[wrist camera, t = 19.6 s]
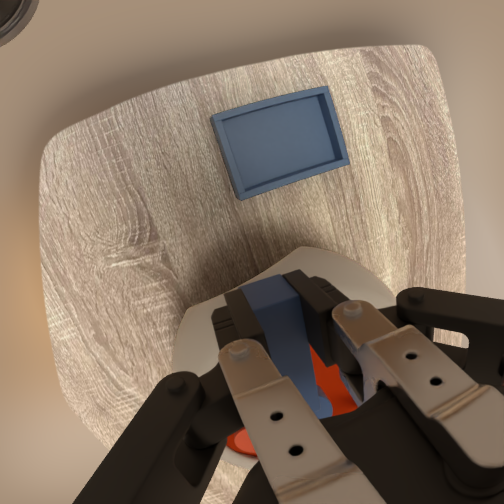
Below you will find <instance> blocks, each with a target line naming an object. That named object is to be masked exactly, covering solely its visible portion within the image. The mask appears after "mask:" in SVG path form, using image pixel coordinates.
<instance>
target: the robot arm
mask: <svg viewBox="0 0 504 504" xmlns="http://www.w3.org/2000/svg"><path fill="white" fill-rule="evenodd" d="M24 3H25V0H0V32H1V31H2V30H4V29H5V28H6V27H7V26H8V25H9V24H10V23H11V22H12V21H13V20H14V19H15V18H16V16H17V15H18V14H19V12H20V11H21V9H22V7H23V5H24ZM282 277H283V278H284V279H285V280H286V281H287V282H288V283H289V284H290V285H291V287H292V288H293V289H294V290H295V291H296V292H297V293H298V294H299V297H300V302H301V307H302V312H303V317H304V322H305V328H306V333H307V338H308V343H309V344H310V345H311V347H312V348H313V349H314V351H315V352H316V354H317V355H318V356H319V358H320V359H321V360H322V362H323V363H324V364H325V366H326V367H327V368H328V367H330V366H333V365H335V364H337V365H338V367H339V375H340V379H341V380H342V382H343V384H344V385H345V387H346V388H347V390H348V392H349V393H350V395H351V396H352V398H353V400H354V401H355V403H356V404H357V406H358V408H357V409H355V410H354V411H352V412H349V413H345V414H340V415H336V416H331V417H327V418H322V419H318V418H317V417H316V415H315V414H314V412H313V411H312V409H311V408H310V407H309V405H308V404H307V402H306V401H305V399H304V398H303V396H302V395H301V394H300V392H299V391H298V389H297V388H296V386H295V385H294V383H293V382H292V381H291V379H290V378H289V377H288V376H287V375H285V376H283V377H282V376H281V374H280V373H279V371H278V370H277V368H276V367H275V365H274V363H273V362H272V359H271V355H270V352H269V348H268V344H267V341H266V337H265V333H264V331H263V329H262V327H261V325H260V323H259V321H258V320H257V318H256V316H255V314H254V312H253V310H252V308H251V306H250V304H249V303H248V301H247V299H246V297H245V295H244V293H243V291H242V289H241V288H239V289H236V290H233V291H230V292H227V293H224V294H223V295H224V298H225V301H226V304H227V305H226V306H223V307H220V308H217V309H214V311H213V313H212V315H211V320H212V324H213V328H214V332H215V336H216V340H217V343H218V347H219V351H220V352H219V354H218V361H219V362H218V363H217V365H216V366H215V367H214V368H213V369H211V370H210V371H209V372H207V373H205V374H203V375H202V376H200V377H198V376H197V375H196V374H195V373H193V372H190V371H179V372H175V373H172V374H170V375H168V376H166V377H164V378H163V379H162V380H161V381H160V382H159V383H158V384H157V385H156V387H155V388H154V390H153V391H152V393H151V394H150V395H149V397H148V398H147V400H146V401H145V402H144V404H143V405H142V407H141V408H140V409H139V411H138V412H137V414H136V415H135V416H134V418H133V419H132V421H131V422H130V423H129V425H128V426H127V428H126V429H125V430H124V432H123V433H122V435H121V436H120V437H119V439H118V440H117V442H116V443H115V444H114V446H113V447H112V449H111V450H110V451H109V453H108V454H107V456H106V457H105V459H104V460H103V461H102V463H101V464H100V465H99V467H98V468H97V470H96V471H95V473H94V474H93V476H92V477H91V478H90V480H89V481H88V482H87V484H86V485H85V487H84V488H83V489H82V491H81V492H80V494H79V495H78V496H77V498H76V499H75V501H74V502H73V503H72V504H200V502H201V500H202V497H203V495H204V493H205V491H206V489H207V487H208V485H209V482H210V480H211V478H212V476H213V474H214V471H215V469H216V467H217V465H218V463H219V460H220V458H221V456H222V454H223V451H224V449H225V447H226V444H227V437H228V436H230V435H232V434H233V433H235V432H237V431H238V430H240V429H241V428H243V427H245V429H246V431H247V433H248V436H249V438H250V440H251V443H252V445H253V447H254V450H255V452H256V454H257V456H258V459H259V460H258V462H257V463H256V464H255V465H254V466H253V467H252V469H251V470H250V472H249V473H248V475H247V476H246V478H245V480H244V482H243V484H242V486H241V488H240V490H239V492H238V494H237V496H236V497H235V499H234V501H233V503H232V504H504V300H501V299H494V298H488V297H481V296H474V295H468V294H461V293H455V292H448V291H442V290H436V289H429V288H423V287H412V288H408V289H405V290H403V291H401V292H400V293H399V294H398V295H397V297H396V305H395V306H390V307H385V308H380V309H376V308H375V307H374V306H373V305H372V304H371V303H369V302H367V301H364V300H350V299H349V298H348V297H347V296H345V295H344V294H343V293H342V292H341V291H339V290H338V289H336V287H335V286H333V285H332V284H331V283H330V282H329V281H327V280H326V279H324V278H321V277H317V276H313V277H310V278H309V277H308V276H307V275H306V274H305V273H304V272H303V271H301V270H300V269H297V270H294V271H291V272H288V273H285V274H282ZM434 327H435V328H439V329H444V330H449V331H455V332H460V333H463V334H464V335H466V336H467V337H468V339H469V347H468V348H461V347H456V346H451V345H446V344H442V343H437V342H433V337H434Z"/></svg>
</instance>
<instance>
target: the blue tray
mask: <svg viewBox="0 0 504 504" xmlns="http://www.w3.org/2000/svg"><path fill="white" fill-rule="evenodd" d="M210 121H211V124H212V127H213V130H214V133H215V135H216V138H217V141H218V144H219V147H220V150H221V153H222V156H223V159H224V162H225V165H226V168H227V171H228V174H229V177H230V180H231V183H232V186H233V189H234V192H235V195H236V198H237V199H239V200H241V201H242V200H245V199H248V198H250V197H253V196H256V195H259V194H262V193H265V192H267V191H270V190H273V189H276V188H279V187H282V186H285V185H288V184H291V183H294V182H296V181H299V180H302V179H305V178H308V177H311V176H314V175H317V174H321V173H324V172H327V171H330V170H333V169H336V168H339V167H342V166H345V165H349V164H350V161H349V158H348V153H347V150H346V146H345V142H344V139H343V135H342V131H341V128H340V124H339V121H338V118H337V114H336V111H335V108H334V104H333V101H332V98H331V95H330V92H329V89H328V86H322V87H317V88H313V89H308V90H303V91H299V92H295V93H290V94H286V95H282V96H278V97H274V98H270V99H266V100H262V101H258V102H255V103H251V104H247V105H244V106H240V107H237V108H234V109H230V110H227V111H224V112H220V113H217V114H214V115H212V116H211V117H210Z"/></svg>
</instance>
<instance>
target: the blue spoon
mask: <svg viewBox="0 0 504 504" xmlns="http://www.w3.org/2000/svg"><path fill="white" fill-rule="evenodd" d="M239 288H241V289H242V291H243V293H244V295H245V297H246V299H247V301H248V303H249V304H250V306H251V308H252V310H253V312H254V314H255V316H256V318H257V320H258V321H259V323H260V325H261V327H262V329H263V331H264V333H265V337H266V341H267V344H268V348H269V352H270V355H271V359H272V362H273V363H274V365H275V367H276V368H277V370H278V371H279V373H280V374H281V376H282V377H283V376H285V375H287V376H288V377H289V378H290V379H291V381H292V382H293V383H294V385H295V386H296V388H297V389H298V391H299V392H300V394H301V395H302V396H303V398H304V399H305V401H306V402H307V404H308V405H309V407H310V408H311V409H312V411H313V412H314V414H315V415H316V417H317V418H318V419H322V418H327V417H331V416H332V413H333V407H332V404H331V402H330V401H329V399H328V398H327V396H326V395H325V393H324V392H323V390H322V389H321V387H319V386H318V385H317V384H316V378H315V373H314V367H313V362H312V356H311V351H310V345H309V343H308V338H307V333H306V328H305V322H304V317H303V312H302V307H301V302H300V297H299V294H298V293H297V292H296V291H295V290H294V289H293V288H292V287H291V285H290V284H289V283H288V282H287V281H286V280H285V279H284V278H283V277H282V275H281V274H277V275H274V276H271V277H268V278H264V279H261V280H258V281H255V282H252V283H249V284H246V285H243V286H240V287H238V289H239Z"/></svg>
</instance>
